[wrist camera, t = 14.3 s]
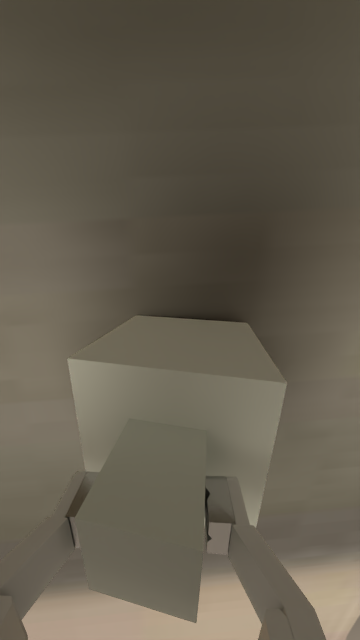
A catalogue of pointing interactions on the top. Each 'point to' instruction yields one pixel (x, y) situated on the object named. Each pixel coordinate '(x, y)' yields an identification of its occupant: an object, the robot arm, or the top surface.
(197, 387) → the pale sage box
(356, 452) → the top surface
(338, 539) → the top surface
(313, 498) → the top surface
